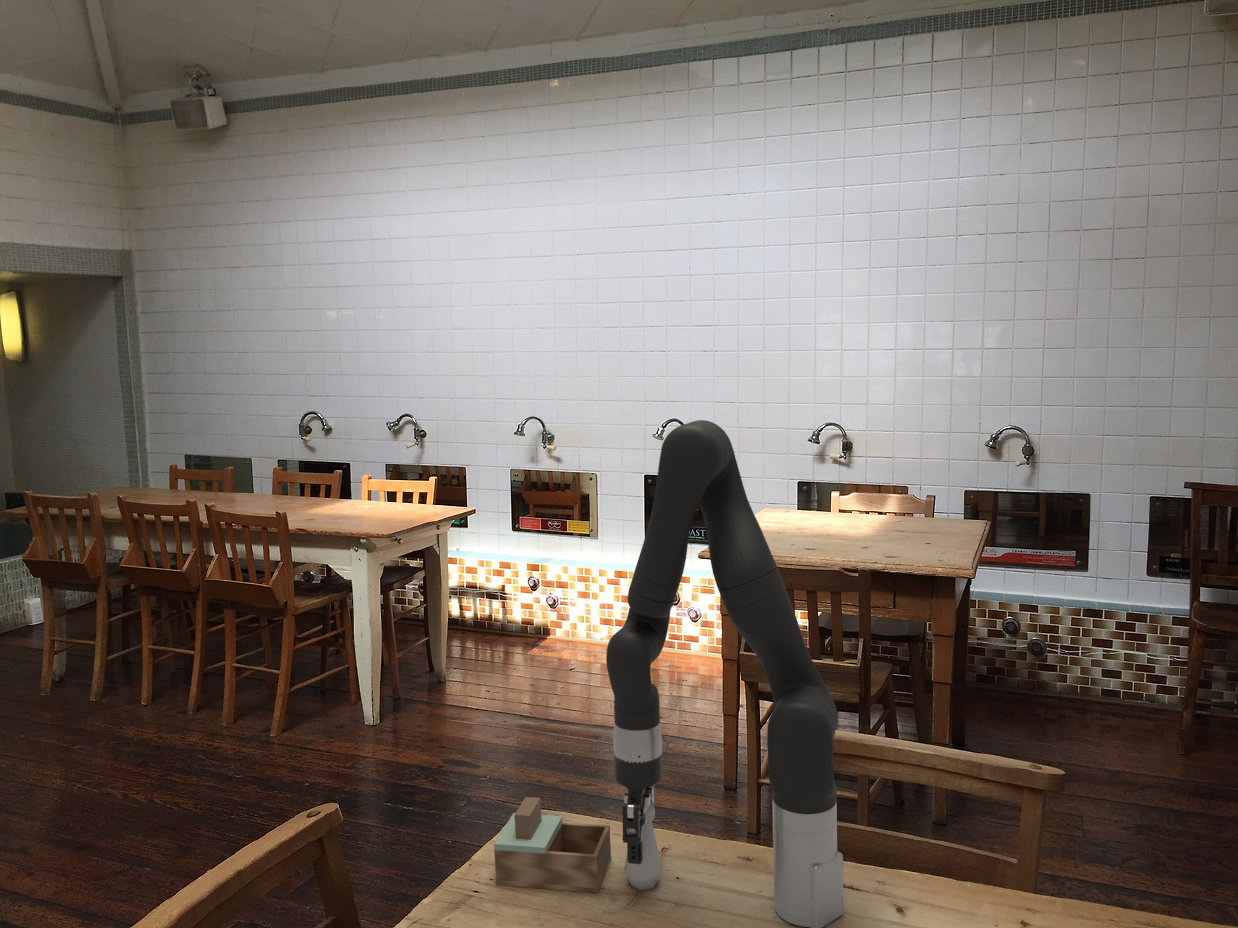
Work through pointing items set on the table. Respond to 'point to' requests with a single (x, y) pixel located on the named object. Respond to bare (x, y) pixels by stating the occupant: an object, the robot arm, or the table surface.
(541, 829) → the lid
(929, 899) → the table surface
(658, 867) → the salt shaker
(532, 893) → the table surface
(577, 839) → the box
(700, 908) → the table surface
